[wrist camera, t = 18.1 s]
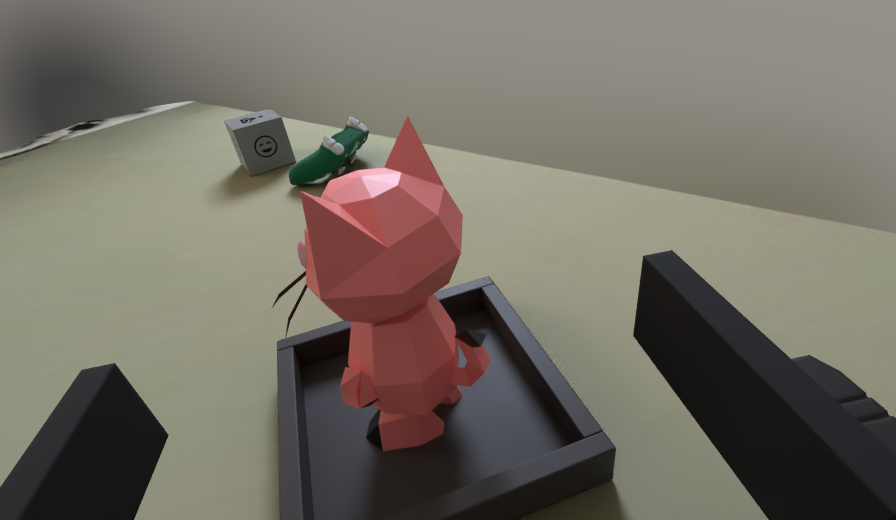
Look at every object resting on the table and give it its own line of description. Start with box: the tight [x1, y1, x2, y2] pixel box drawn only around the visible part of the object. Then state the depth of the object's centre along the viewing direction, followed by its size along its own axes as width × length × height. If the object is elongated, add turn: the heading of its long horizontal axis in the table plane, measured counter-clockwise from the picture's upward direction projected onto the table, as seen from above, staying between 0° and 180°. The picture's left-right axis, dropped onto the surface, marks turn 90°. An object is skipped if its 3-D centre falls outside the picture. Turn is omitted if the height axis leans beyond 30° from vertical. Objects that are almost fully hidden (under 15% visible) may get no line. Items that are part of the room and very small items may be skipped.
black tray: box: [277, 276, 616, 520], centre depth 20 cm, size 12×12×2 cm
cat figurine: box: [272, 116, 491, 451], centre depth 17 cm, size 7×7×12 cm
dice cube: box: [224, 109, 296, 176], centre depth 50 cm, size 5×5×5 cm
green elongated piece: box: [289, 117, 369, 185], centre depth 47 cm, size 9×4×6 cm
